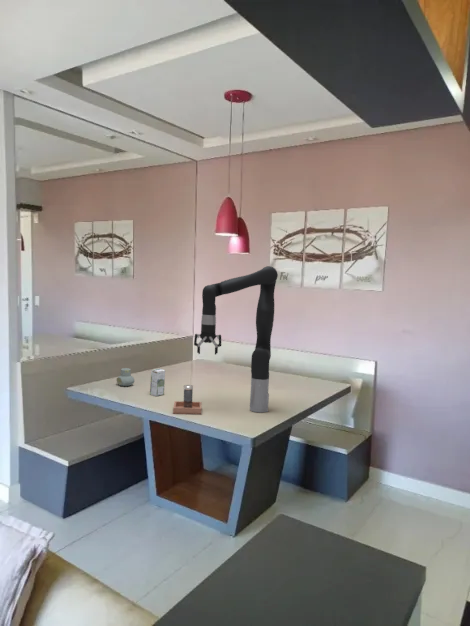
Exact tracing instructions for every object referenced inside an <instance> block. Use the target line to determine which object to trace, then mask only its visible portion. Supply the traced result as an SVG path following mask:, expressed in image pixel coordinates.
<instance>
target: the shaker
mask: <svg viewBox="0 0 470 626" xmlns="http://www.w3.org/2000/svg"><path fill="white" fill-rule="evenodd" d="M193 391H194V385H191V384H185V385H183V401H184V406H183V408H192V402H193V393H194V392H193Z"/></svg>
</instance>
